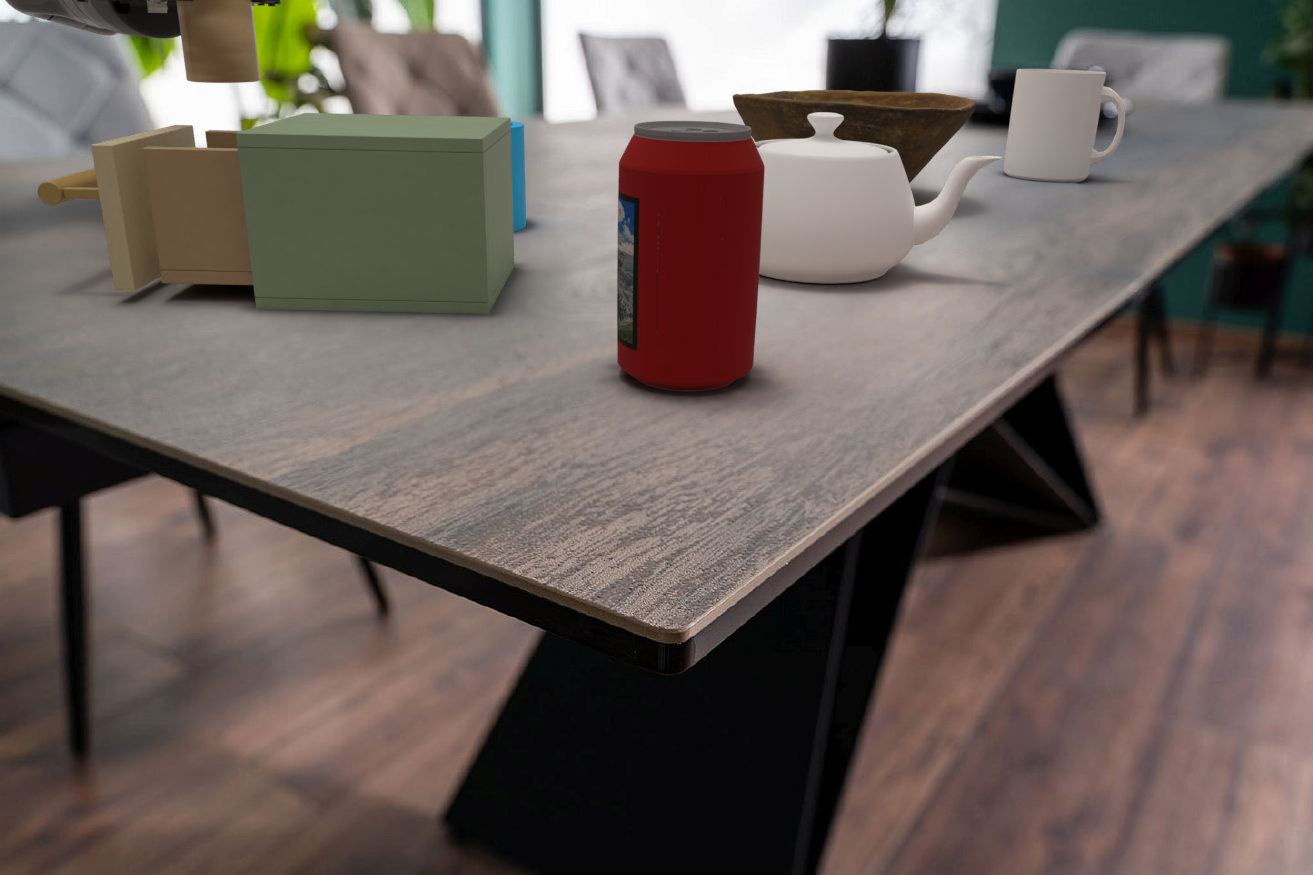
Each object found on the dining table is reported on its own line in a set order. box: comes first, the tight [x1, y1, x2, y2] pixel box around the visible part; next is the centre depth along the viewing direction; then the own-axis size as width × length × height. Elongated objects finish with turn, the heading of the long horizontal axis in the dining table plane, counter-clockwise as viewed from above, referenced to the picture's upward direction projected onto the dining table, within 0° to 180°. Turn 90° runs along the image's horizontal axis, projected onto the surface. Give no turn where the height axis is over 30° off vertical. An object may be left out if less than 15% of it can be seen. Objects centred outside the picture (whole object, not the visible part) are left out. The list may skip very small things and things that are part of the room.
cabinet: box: [236, 112, 515, 315], centre depth 67 cm, size 14×13×10 cm
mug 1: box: [510, 120, 527, 232], centre depth 89 cm, size 12×8×8 cm
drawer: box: [37, 124, 253, 291], centre depth 67 cm, size 17×11×8 cm, turn 90°
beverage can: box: [616, 120, 765, 393], centre depth 51 cm, size 7×7×12 cm
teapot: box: [754, 112, 1003, 285], centre depth 74 cm, size 22×14×11 cm, turn 76°
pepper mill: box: [176, 0, 261, 84], centre depth 71 cm, size 5×5×9 cm
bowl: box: [732, 89, 977, 184], centre depth 104 cm, size 22×23×10 cm
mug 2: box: [1003, 68, 1126, 183], centre depth 122 cm, size 10×12×12 cm
